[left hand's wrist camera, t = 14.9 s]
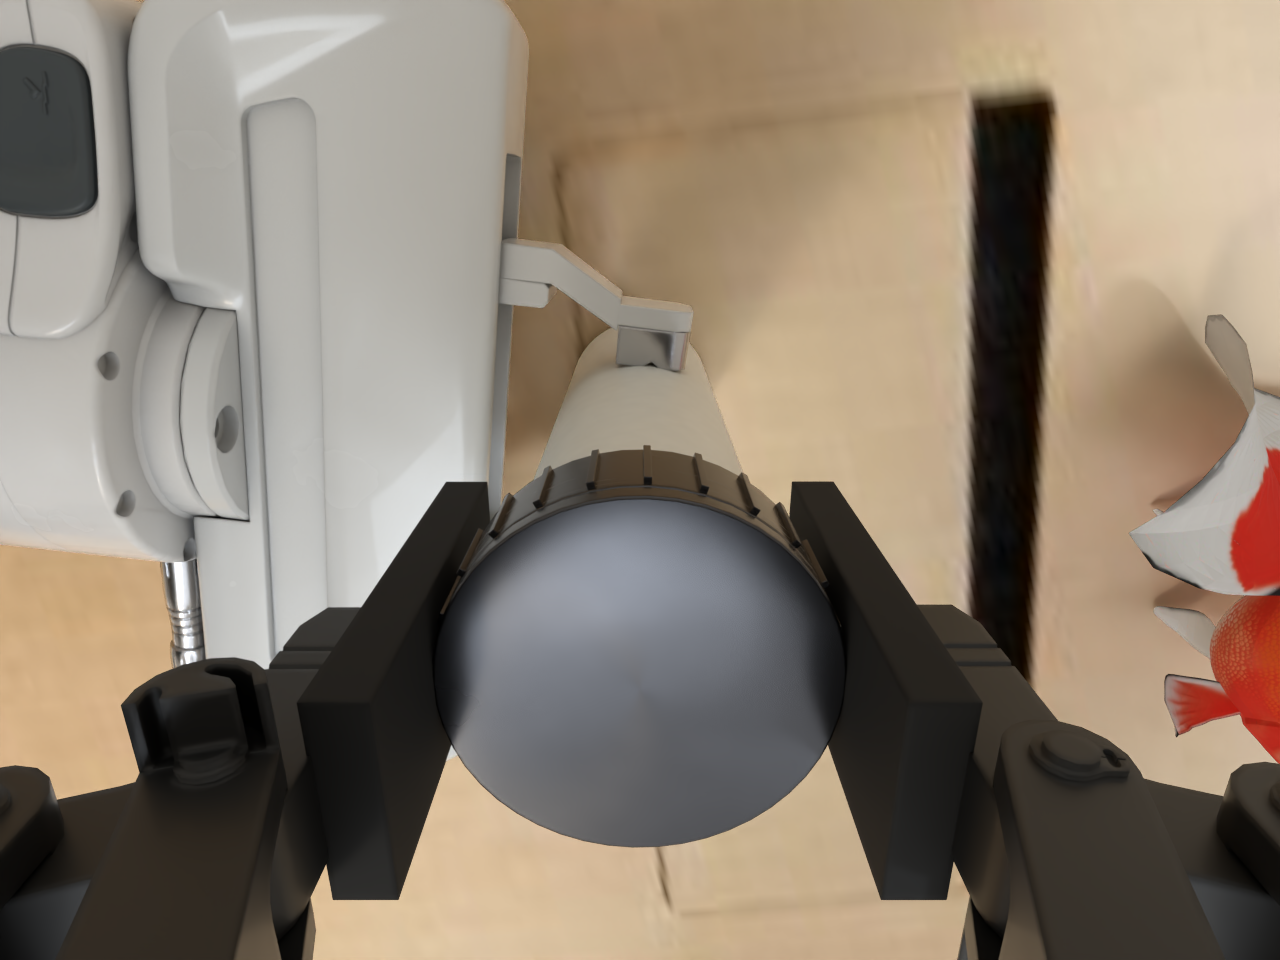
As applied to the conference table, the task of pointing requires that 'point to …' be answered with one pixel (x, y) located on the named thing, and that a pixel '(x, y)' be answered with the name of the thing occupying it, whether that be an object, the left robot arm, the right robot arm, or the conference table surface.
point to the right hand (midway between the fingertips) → (673, 447)
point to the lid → (639, 651)
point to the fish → (1229, 563)
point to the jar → (637, 410)
